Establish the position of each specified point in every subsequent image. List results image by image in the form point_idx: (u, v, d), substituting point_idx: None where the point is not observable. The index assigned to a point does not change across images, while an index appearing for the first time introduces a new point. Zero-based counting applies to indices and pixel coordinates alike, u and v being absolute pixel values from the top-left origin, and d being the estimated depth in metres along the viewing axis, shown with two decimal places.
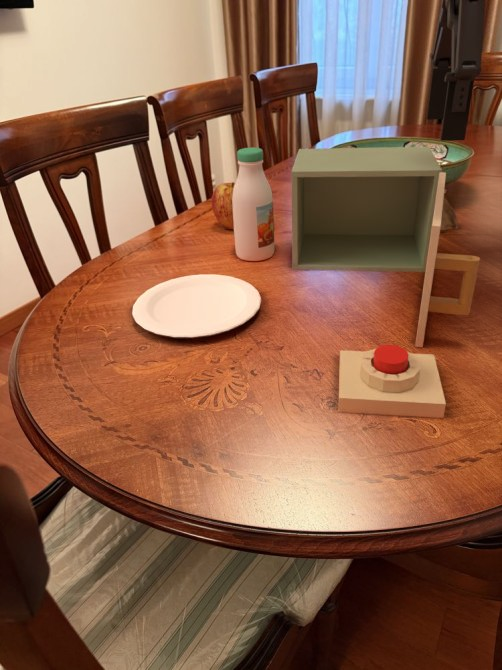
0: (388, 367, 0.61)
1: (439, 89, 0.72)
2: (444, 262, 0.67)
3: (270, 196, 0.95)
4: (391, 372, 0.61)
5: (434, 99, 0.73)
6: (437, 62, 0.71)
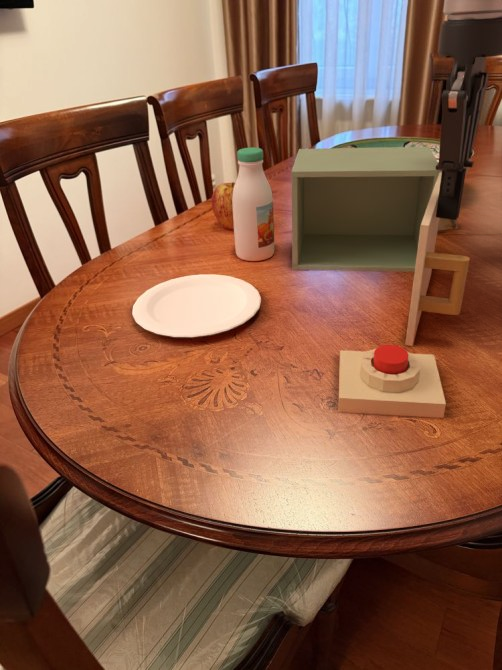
0: (388, 367, 0.61)
1: None
2: (434, 261, 0.67)
3: (270, 196, 0.95)
4: (391, 372, 0.61)
5: None
6: None
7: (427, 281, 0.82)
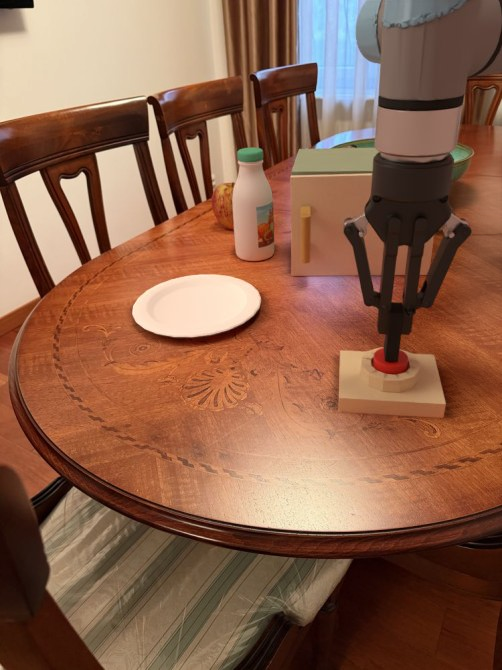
0: (388, 370, 0.61)
1: None
2: None
3: (270, 196, 0.95)
4: None
5: None
6: None
7: (377, 260, 0.90)
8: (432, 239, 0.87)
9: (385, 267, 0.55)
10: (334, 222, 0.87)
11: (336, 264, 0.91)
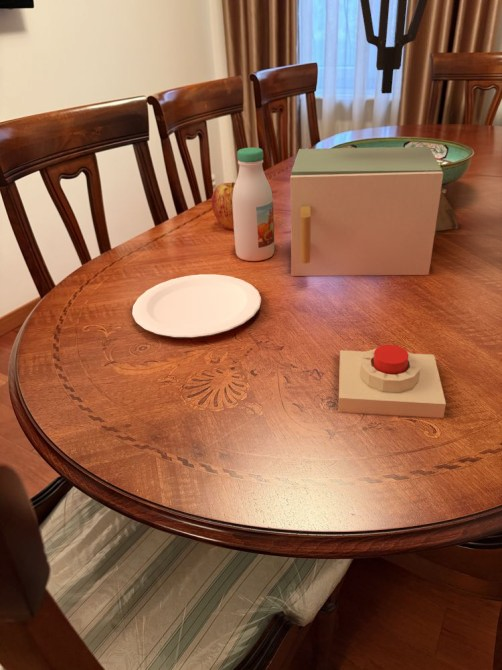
0: (388, 367, 0.61)
1: None
2: None
3: (270, 196, 0.95)
4: (391, 372, 0.61)
5: None
6: None
7: (377, 260, 0.90)
8: (432, 239, 0.87)
9: (382, 6, 0.79)
10: (334, 222, 0.87)
11: (336, 264, 0.91)
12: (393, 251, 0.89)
